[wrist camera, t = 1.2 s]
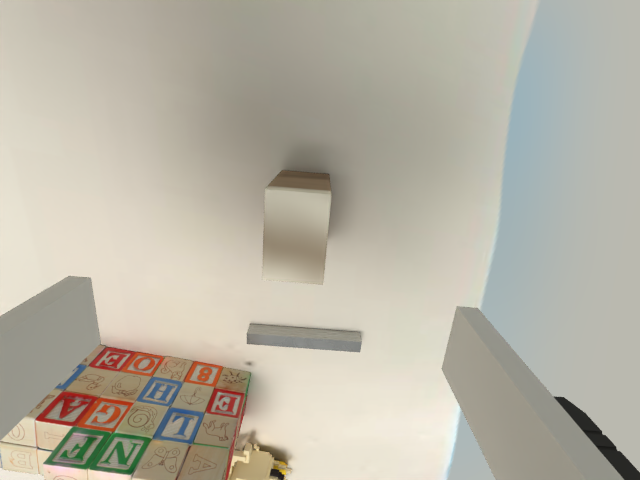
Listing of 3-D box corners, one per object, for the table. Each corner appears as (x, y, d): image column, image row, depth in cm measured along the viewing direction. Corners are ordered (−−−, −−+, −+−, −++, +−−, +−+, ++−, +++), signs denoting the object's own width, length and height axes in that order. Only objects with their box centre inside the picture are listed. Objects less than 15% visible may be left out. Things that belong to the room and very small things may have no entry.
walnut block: (282, 170, 28) (264, 189, 20) (329, 174, 28) (331, 194, 20) (279, 236, 30) (262, 280, 22) (323, 240, 30) (323, 284, 22)
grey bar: (250, 323, 33) (246, 333, 32) (359, 332, 33) (361, 341, 32) (250, 334, 34) (246, 343, 32) (358, 342, 34) (360, 352, 32)
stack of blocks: (49, 381, 36) (-82, 503, 24) (46, 333, 34) (-98, 441, 22) (245, 415, 37) (209, 546, 26) (253, 370, 35) (218, 491, 24)
